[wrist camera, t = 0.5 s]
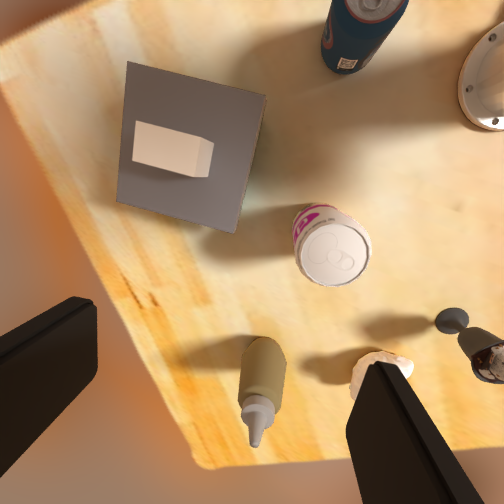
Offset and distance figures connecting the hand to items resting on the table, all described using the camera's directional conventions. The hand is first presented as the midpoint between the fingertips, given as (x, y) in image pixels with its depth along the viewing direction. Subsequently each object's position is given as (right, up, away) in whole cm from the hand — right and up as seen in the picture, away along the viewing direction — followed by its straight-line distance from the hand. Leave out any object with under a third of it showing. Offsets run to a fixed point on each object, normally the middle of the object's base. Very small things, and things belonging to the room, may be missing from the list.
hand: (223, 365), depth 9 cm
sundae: (+34, -8, +34) cm, 49 cm away
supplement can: (+12, +8, +32) cm, 35 cm away
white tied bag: (+23, -16, +38) cm, 47 cm away
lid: (-7, +17, +25) cm, 31 cm away
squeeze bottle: (+4, -15, +40) cm, 43 cm away
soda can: (+14, +31, +25) cm, 42 cm away
